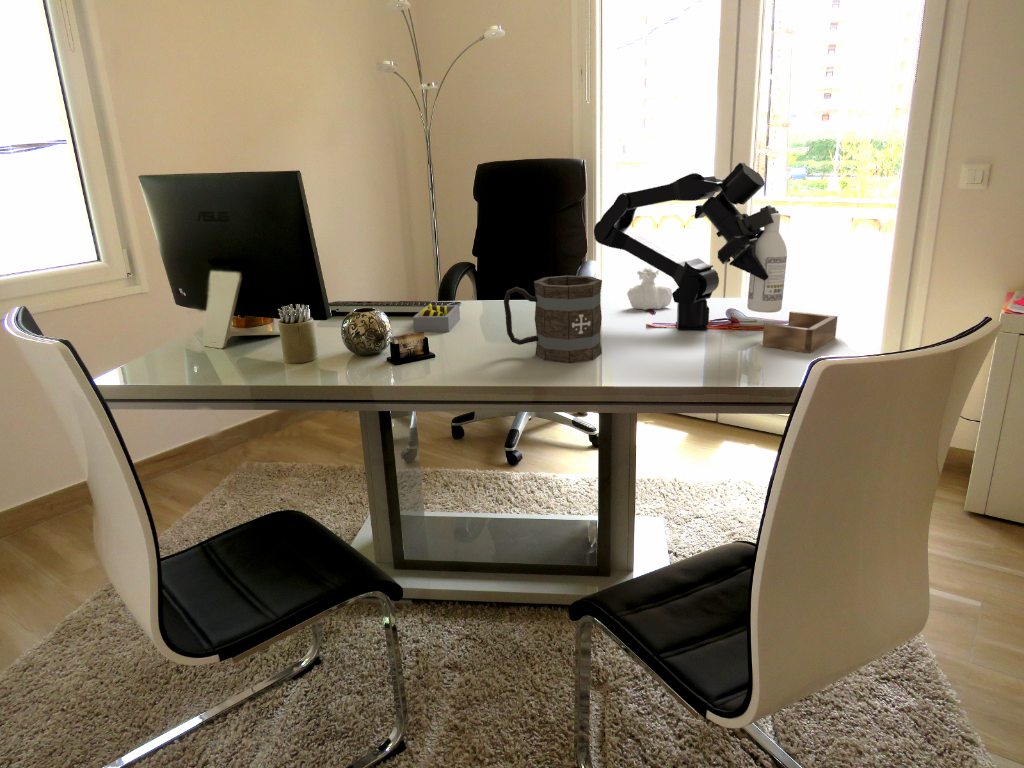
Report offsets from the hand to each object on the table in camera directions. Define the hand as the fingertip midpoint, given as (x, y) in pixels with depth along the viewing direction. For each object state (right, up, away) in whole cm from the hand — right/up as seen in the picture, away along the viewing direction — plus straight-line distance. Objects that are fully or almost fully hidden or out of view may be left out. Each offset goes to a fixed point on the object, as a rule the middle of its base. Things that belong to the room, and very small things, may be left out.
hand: (773, 276), depth 152 cm
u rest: (+5, -13, +1) cm, 14 cm away
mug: (-46, -17, -3) cm, 49 cm away
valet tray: (-73, -8, +25) cm, 77 cm away
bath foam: (-1, -7, +3) cm, 8 cm away
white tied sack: (-19, -3, +38) cm, 43 cm away
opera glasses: (-73, -9, +25) cm, 78 cm away
